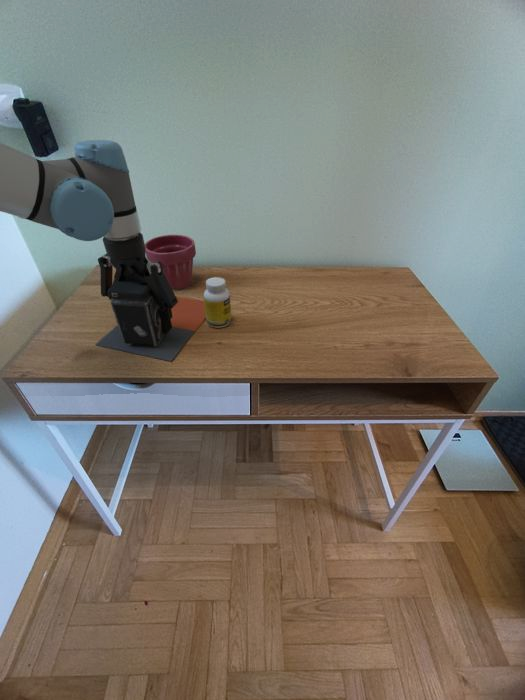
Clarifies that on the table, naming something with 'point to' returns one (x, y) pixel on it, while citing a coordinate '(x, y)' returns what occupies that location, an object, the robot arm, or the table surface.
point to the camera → (136, 312)
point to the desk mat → (183, 327)
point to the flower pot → (173, 258)
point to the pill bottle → (217, 303)
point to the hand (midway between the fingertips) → (146, 326)
